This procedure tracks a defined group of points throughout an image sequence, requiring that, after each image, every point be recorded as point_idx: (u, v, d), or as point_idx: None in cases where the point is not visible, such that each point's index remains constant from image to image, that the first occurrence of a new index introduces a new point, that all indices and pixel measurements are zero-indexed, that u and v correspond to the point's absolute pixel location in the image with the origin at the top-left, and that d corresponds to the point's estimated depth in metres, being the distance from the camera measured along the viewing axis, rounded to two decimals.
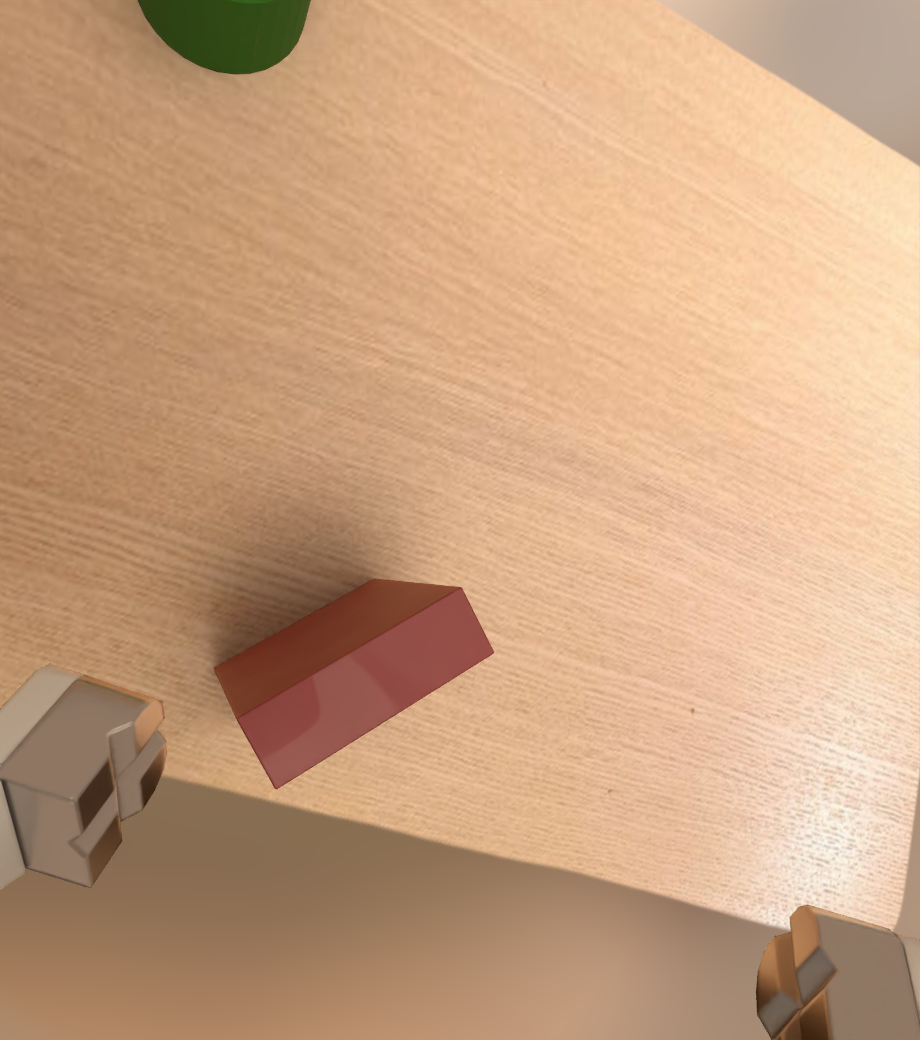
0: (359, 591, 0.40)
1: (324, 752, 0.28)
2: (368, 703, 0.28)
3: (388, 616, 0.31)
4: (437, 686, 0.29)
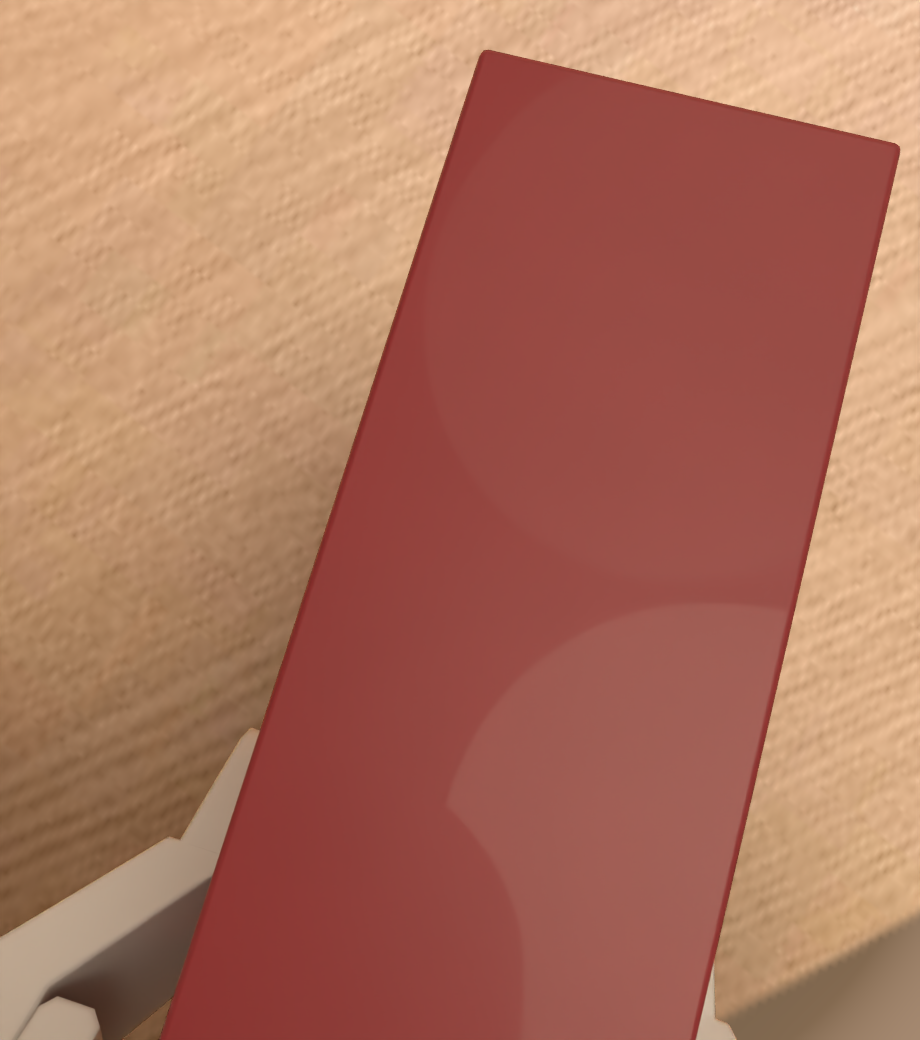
0: None
1: None
2: (561, 895, 0.04)
3: None
4: (805, 511, 0.05)
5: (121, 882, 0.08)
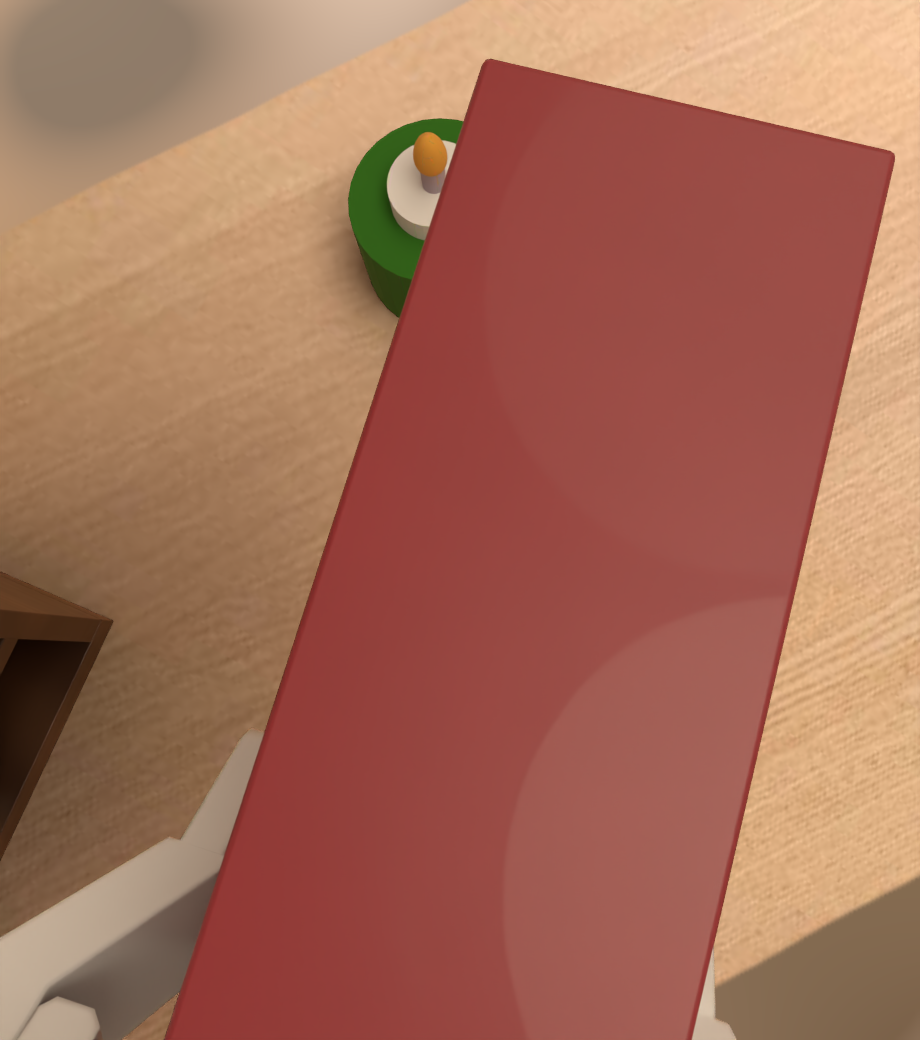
0: None
1: None
2: (563, 886, 0.05)
3: None
4: (801, 512, 0.05)
5: (121, 882, 0.08)
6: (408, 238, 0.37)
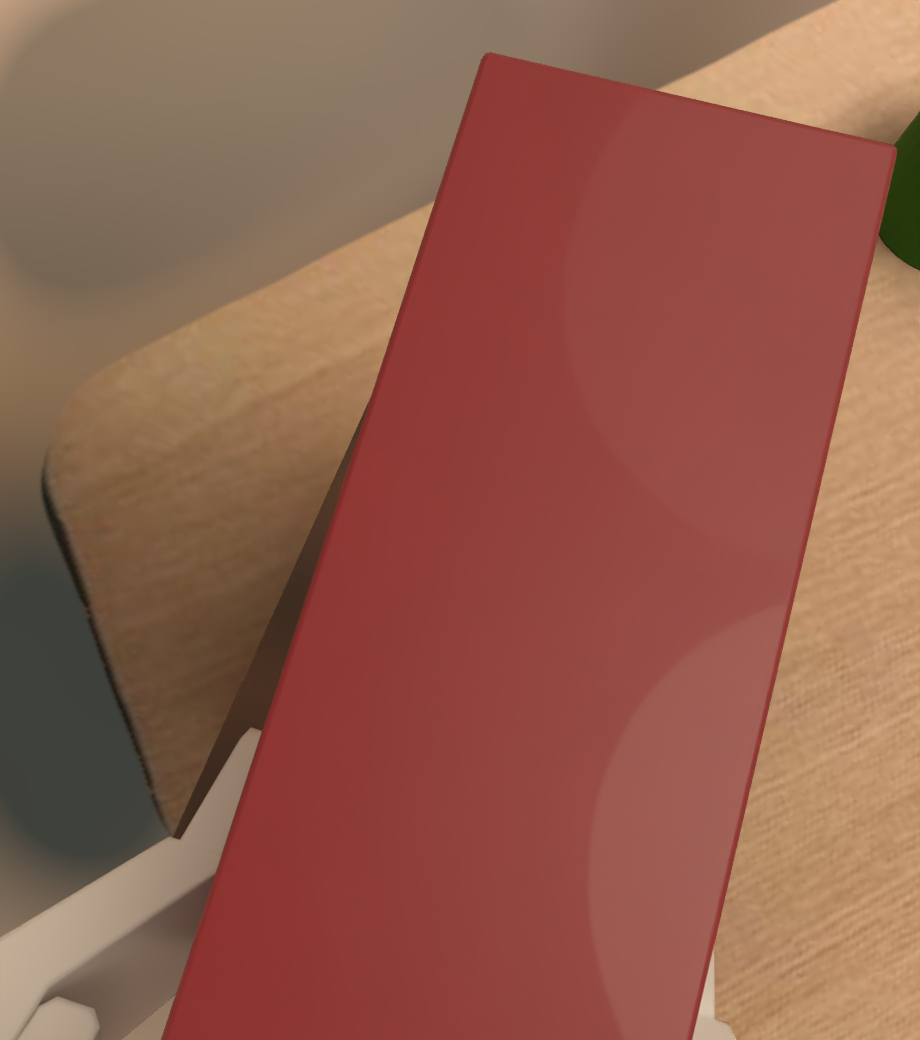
0: None
1: None
2: (562, 885, 0.05)
3: None
4: (803, 507, 0.05)
5: (121, 882, 0.08)
6: None
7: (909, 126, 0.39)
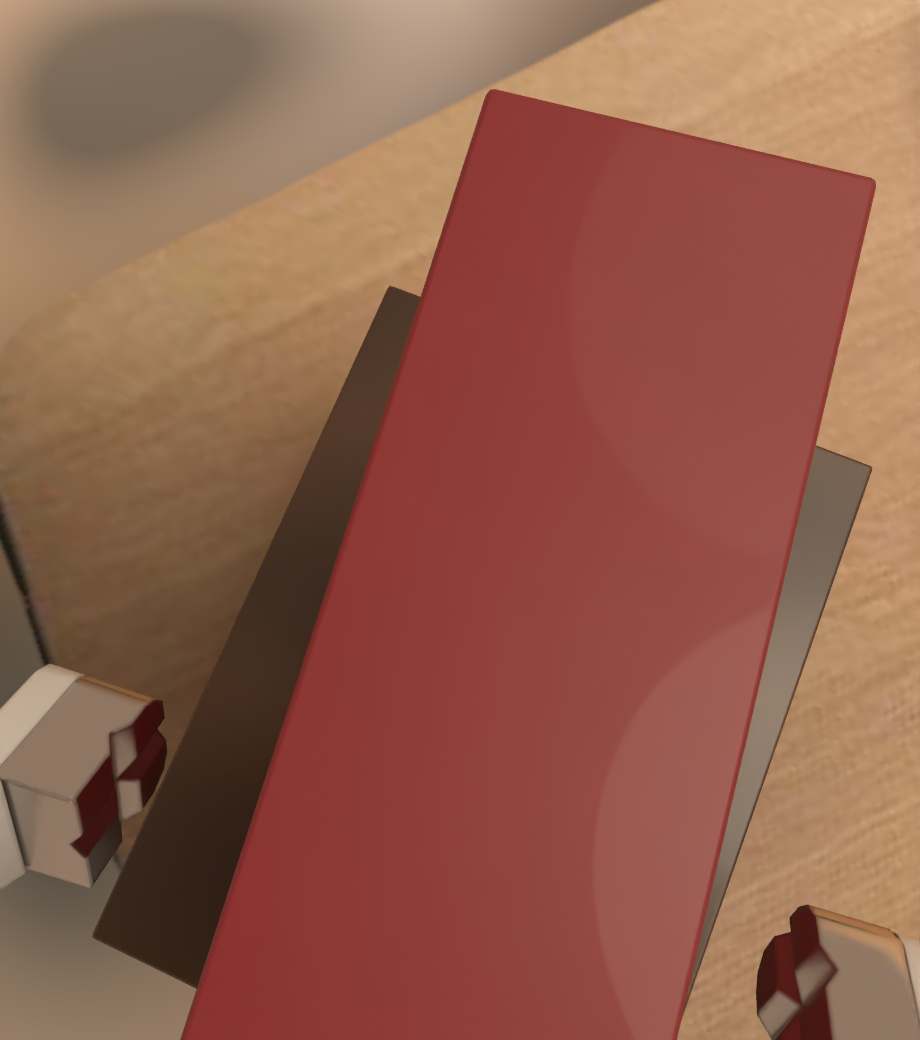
0: None
1: None
2: (563, 870, 0.05)
3: None
4: (787, 519, 0.05)
5: None
6: None
7: None
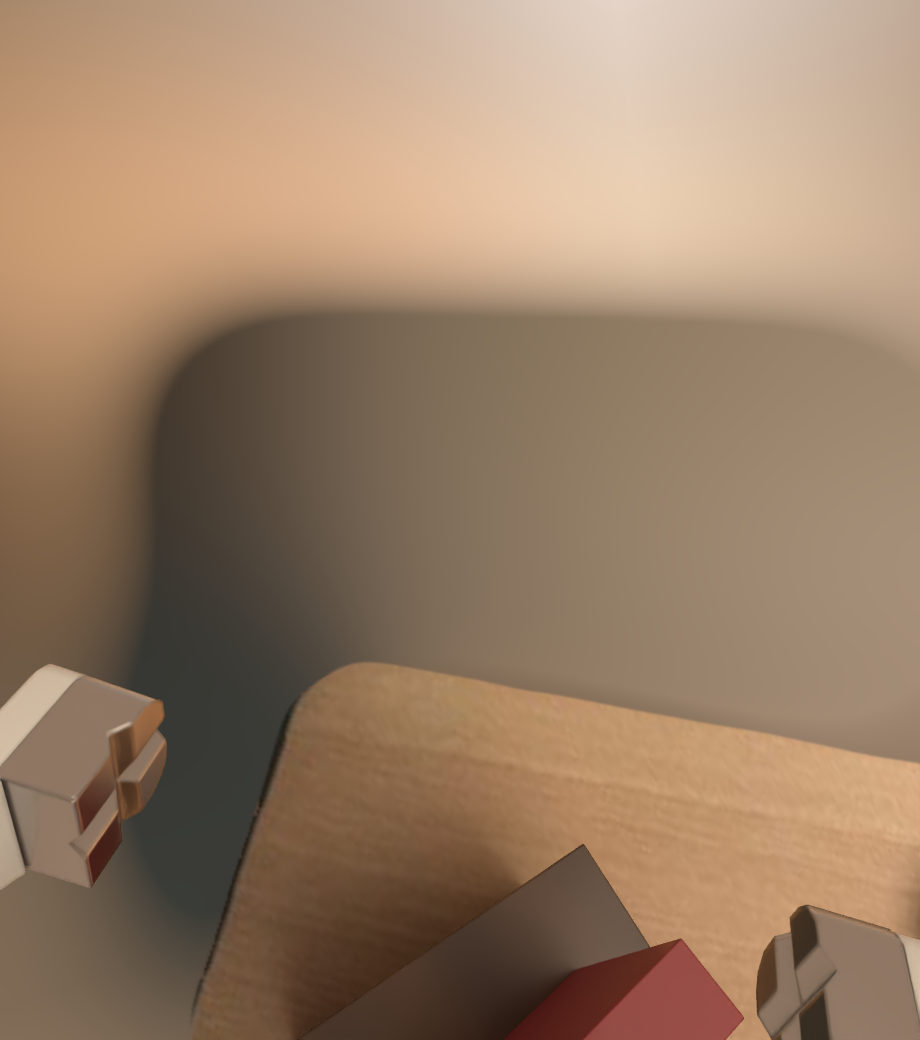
0: (563, 986, 0.35)
1: None
2: None
3: (608, 995, 0.27)
4: None
5: None
6: None
7: None
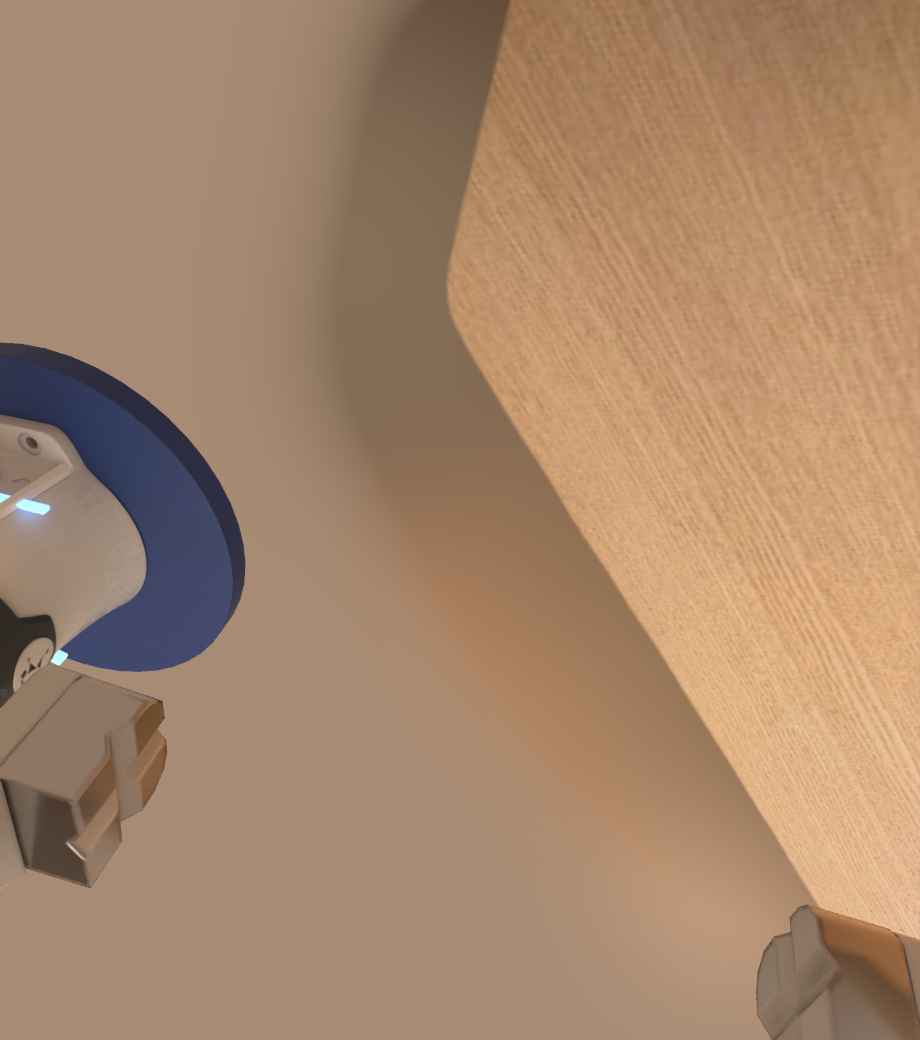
0: None
1: None
2: None
3: None
4: None
5: None
6: None
7: None
